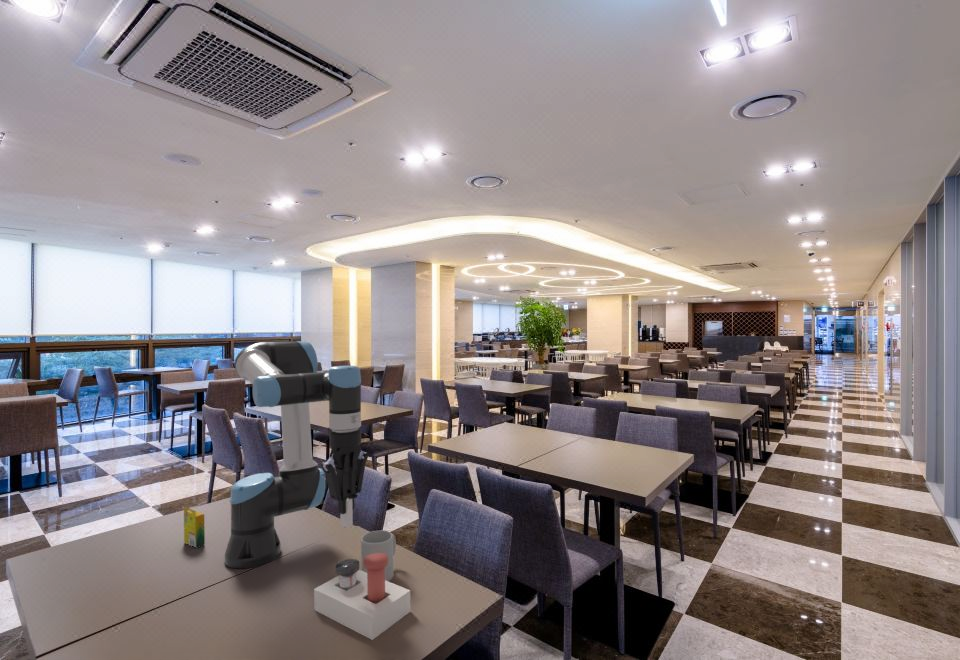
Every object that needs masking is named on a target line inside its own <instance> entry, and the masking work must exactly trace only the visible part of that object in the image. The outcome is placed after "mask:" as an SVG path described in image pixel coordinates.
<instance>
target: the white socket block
mask: <svg viewBox="0 0 960 660" xmlns="http://www.w3.org/2000/svg"><path fill="white" fill-rule="evenodd" d="M313 600H314V601H313V602H314V604H313V607H314V611H315V612H317V613H319V614H321V615H323V616H325V617H327V618H329V619H331V620H333V621H335V622H336V623H338V624H341V625H342V626H345V627H347V628H348V629H350V630H352V631H353V632H356V633H358V634H360V635H362V636H364V637H366V638H367V639H370V640H371V641H373V640H375V639H376V638H377V637H378V636H380V635H381V634H383V633H384V632H385V631H386V630H388V629H389V628H391V627H392V626H393V625H394V624H396V623H397V622H399V621H400V620H401V619H403V618H405V616H406V615H408V614H410V613H411V612H412V611H411V590H410V589H408V588H405V587H403V586H401V585H398V584H395V583H393V582H390V581H389V582H388V581H386V580H385V599H383V600H382V601H380V602H379V603H372V602H370V601H368V588H367V573H366V572H363V571H362V569H361V570H360V569H359V570H358V571H357V572H356V586H354V587H352V588H351V589H349V590H347V591H346V590H343V589H341V588H339V575H337V576H335V577H334V578H331V579H330V580H328V581H326V582H324V583H323V584H321V585H319V586H316V587H315V588H314V589H313Z"/></svg>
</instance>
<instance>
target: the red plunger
mask: <svg viewBox="0 0 960 660" xmlns="http://www.w3.org/2000/svg"><path fill="white" fill-rule="evenodd" d="M387 564H388V555H386V554H384V553H373V554H370V555H368V556H366V557H365V558H364V568H366V569H367V588H368V601H370V602H372V603H379V602H380V601H382V600H383V599H385V566H387Z"/></svg>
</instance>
